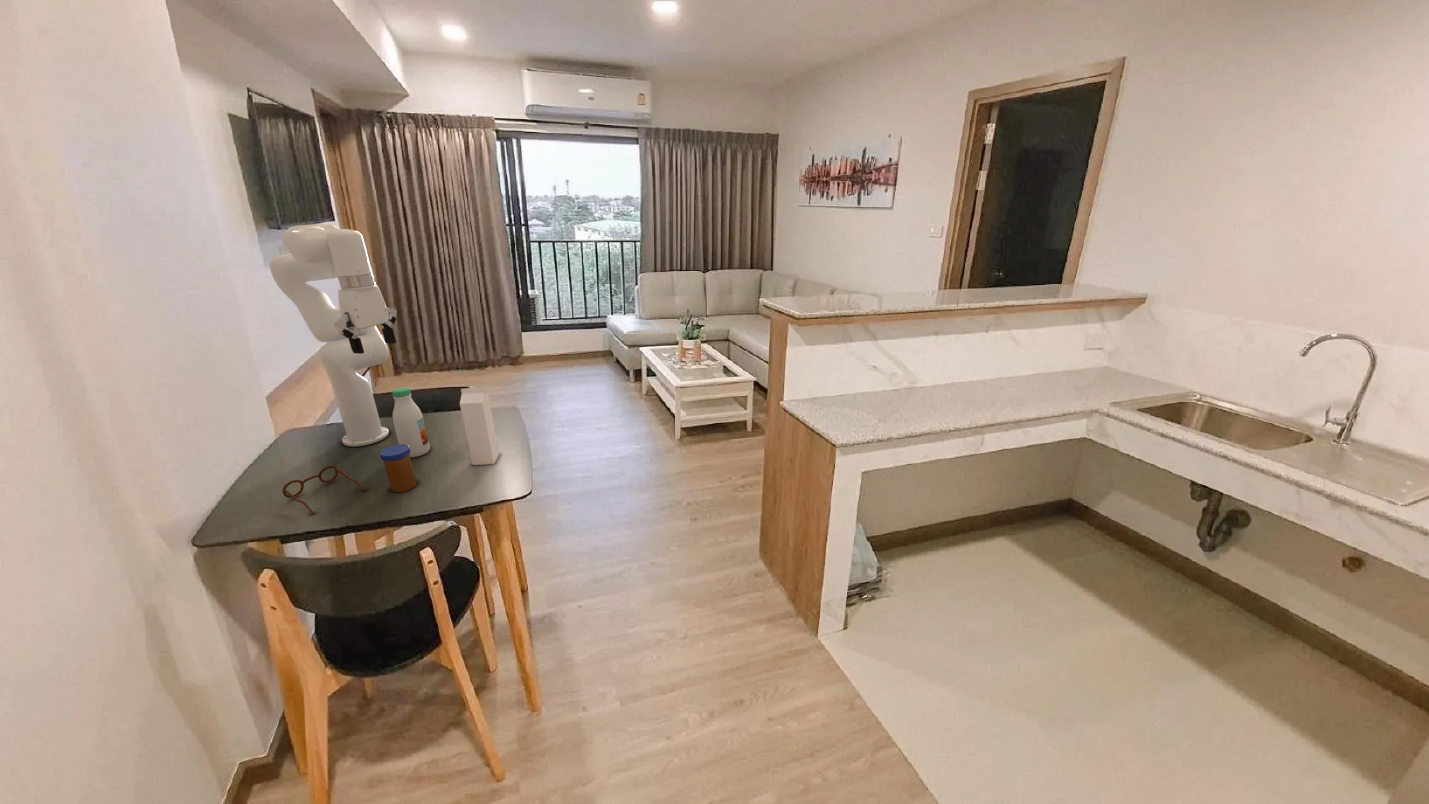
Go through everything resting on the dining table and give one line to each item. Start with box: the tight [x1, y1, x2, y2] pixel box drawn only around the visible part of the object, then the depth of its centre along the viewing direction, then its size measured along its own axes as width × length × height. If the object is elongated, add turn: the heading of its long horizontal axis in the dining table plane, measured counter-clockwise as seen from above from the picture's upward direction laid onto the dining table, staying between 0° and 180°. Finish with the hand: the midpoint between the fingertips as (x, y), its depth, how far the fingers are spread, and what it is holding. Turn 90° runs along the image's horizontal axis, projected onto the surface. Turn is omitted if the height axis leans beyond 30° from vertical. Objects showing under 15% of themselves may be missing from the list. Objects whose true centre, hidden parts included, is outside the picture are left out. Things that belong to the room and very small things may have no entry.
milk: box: [459, 387, 500, 466], centre depth 155 cm, size 6×6×22 cm
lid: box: [379, 443, 410, 462], centre depth 143 cm, size 7×7×2 cm
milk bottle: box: [391, 386, 431, 458], centre depth 161 cm, size 8×8×20 cm
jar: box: [382, 455, 418, 493], centre depth 144 cm, size 6×6×10 cm
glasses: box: [281, 465, 366, 515], centre depth 142 cm, size 13×13×5 cm
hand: (375, 348), depth 145 cm, fingers open, 9 cm apart
